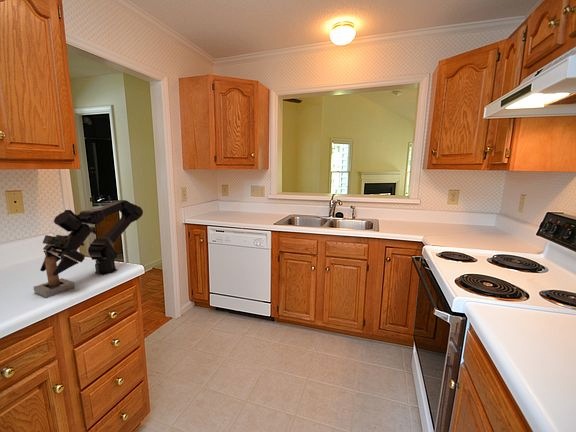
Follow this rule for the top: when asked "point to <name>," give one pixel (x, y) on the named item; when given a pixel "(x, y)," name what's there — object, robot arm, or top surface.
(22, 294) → the top surface
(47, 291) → the square hole frame
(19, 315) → the top surface
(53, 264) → the walnut pin
